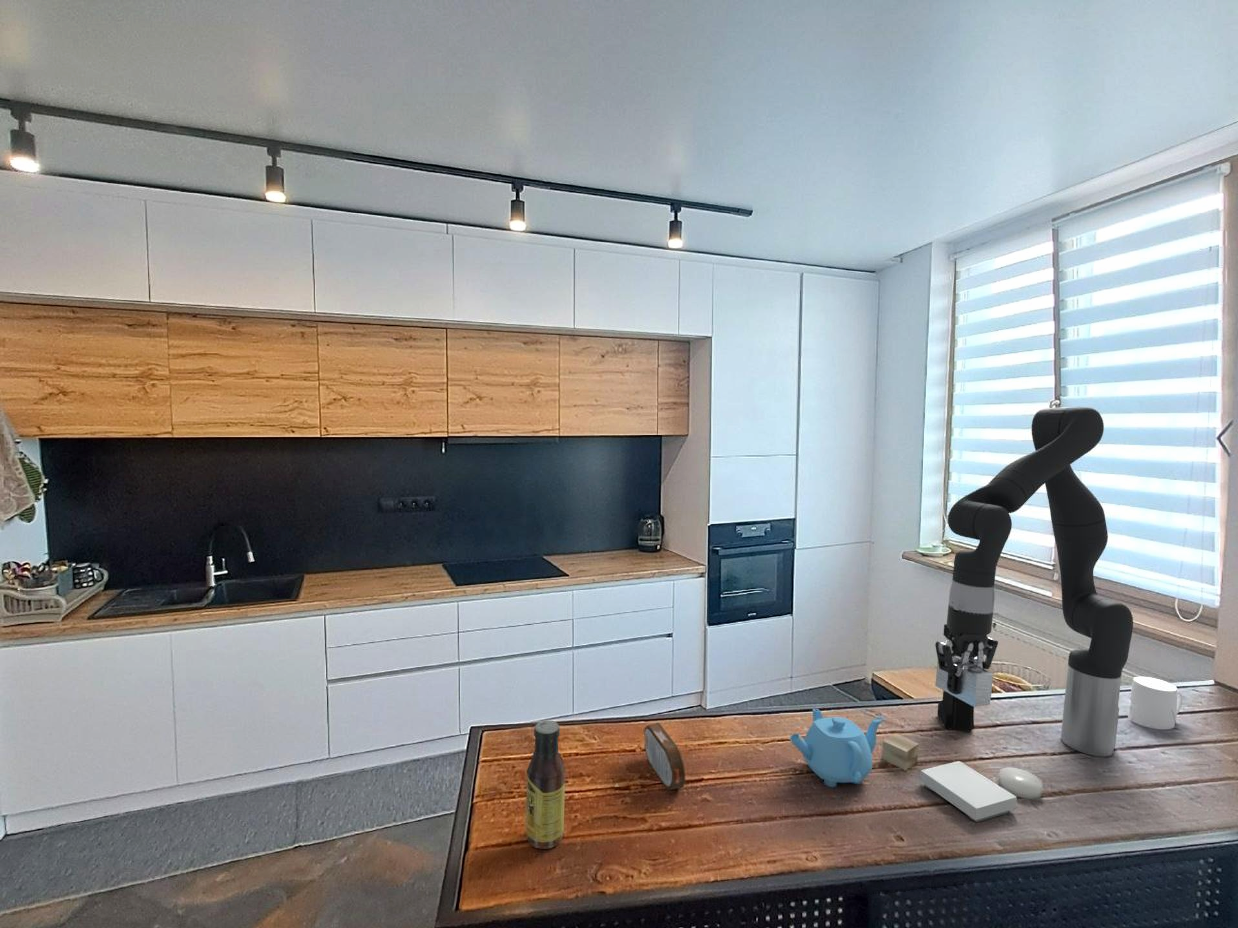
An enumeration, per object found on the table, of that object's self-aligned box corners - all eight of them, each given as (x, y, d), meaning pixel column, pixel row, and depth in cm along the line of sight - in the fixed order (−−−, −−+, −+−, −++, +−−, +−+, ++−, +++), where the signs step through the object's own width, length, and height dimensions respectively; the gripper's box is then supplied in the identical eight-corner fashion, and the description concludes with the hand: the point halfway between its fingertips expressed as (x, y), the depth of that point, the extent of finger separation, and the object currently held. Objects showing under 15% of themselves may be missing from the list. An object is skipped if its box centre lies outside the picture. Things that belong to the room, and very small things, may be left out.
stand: (957, 775, 123) (959, 760, 123) (1015, 812, 112) (1016, 796, 112) (919, 784, 120) (920, 770, 119) (975, 824, 109) (976, 808, 108)
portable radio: (976, 734, 139) (985, 626, 137) (947, 731, 140) (955, 624, 138) (964, 717, 147) (972, 615, 144) (936, 714, 148) (944, 612, 145)
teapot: (813, 744, 133) (816, 694, 132) (880, 768, 125) (884, 714, 124) (786, 777, 121) (789, 722, 120) (858, 806, 113) (862, 747, 112)
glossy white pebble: (1015, 773, 124) (1016, 764, 124) (1050, 794, 118) (1051, 784, 117) (990, 780, 122) (991, 771, 121) (1024, 802, 115) (1025, 792, 115)
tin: (685, 797, 114) (687, 753, 114) (670, 800, 113) (671, 756, 112) (655, 753, 128) (656, 714, 128) (640, 755, 127) (642, 716, 127)
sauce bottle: (527, 826, 105) (528, 714, 103) (564, 825, 106) (565, 713, 104) (524, 854, 99) (525, 735, 97) (563, 852, 99) (565, 734, 97)
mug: (1154, 691, 142) (1121, 676, 150) (1150, 730, 143) (1117, 713, 151) (1199, 689, 144) (1164, 674, 151) (1194, 728, 144) (1160, 711, 152)
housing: (950, 683, 126) (953, 652, 125) (990, 704, 117) (993, 670, 117) (935, 685, 124) (938, 654, 124) (974, 706, 116) (977, 672, 115)
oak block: (894, 751, 132) (895, 733, 131) (917, 762, 128) (918, 743, 127) (881, 758, 129) (883, 740, 128) (905, 770, 125) (906, 751, 124)
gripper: (981, 597, 125) (973, 679, 127) (926, 601, 120) (918, 686, 122) (1015, 609, 118) (1006, 695, 119) (959, 614, 113) (950, 704, 115)
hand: (962, 690), depth 121 cm, fingers closed on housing, 4 cm apart
